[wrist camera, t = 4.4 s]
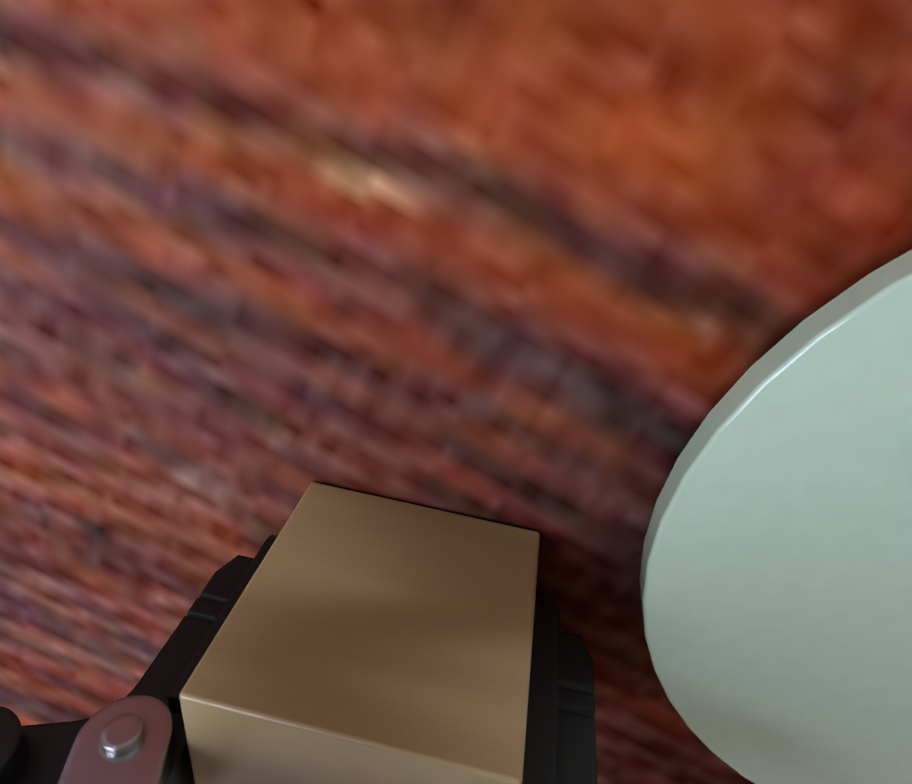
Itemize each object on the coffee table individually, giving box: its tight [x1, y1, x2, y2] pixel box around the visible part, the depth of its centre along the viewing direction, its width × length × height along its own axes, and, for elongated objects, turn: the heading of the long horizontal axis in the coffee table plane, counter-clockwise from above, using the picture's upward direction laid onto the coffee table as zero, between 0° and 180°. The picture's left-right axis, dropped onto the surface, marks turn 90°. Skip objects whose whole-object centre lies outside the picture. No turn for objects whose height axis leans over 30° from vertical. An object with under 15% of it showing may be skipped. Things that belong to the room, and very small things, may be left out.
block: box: [179, 482, 540, 784], centre depth 10 cm, size 4×4×4 cm
